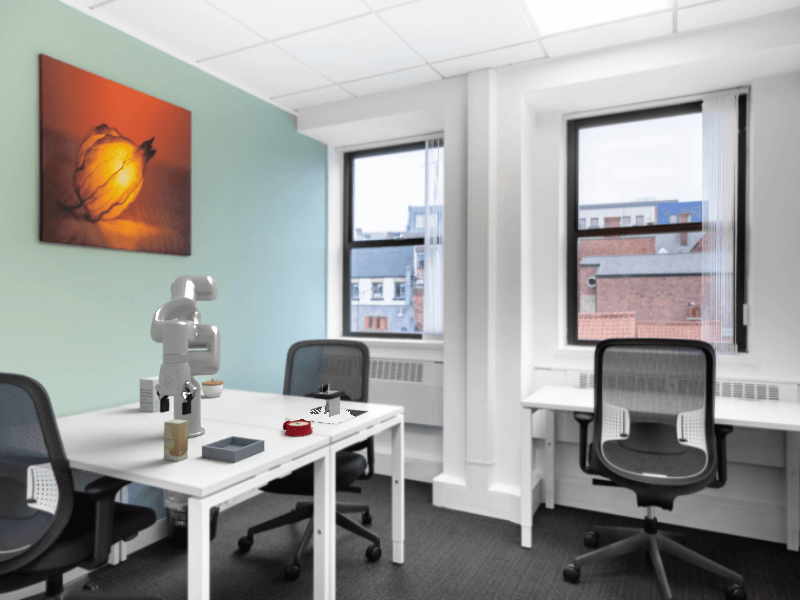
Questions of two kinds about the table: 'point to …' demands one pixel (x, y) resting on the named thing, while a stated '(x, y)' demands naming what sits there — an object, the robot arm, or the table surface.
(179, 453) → the skincare box
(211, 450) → the tray
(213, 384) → the lidded jar
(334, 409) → the black-topped pedestal
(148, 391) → the supplement box
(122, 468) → the table surface
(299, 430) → the alarm clock
